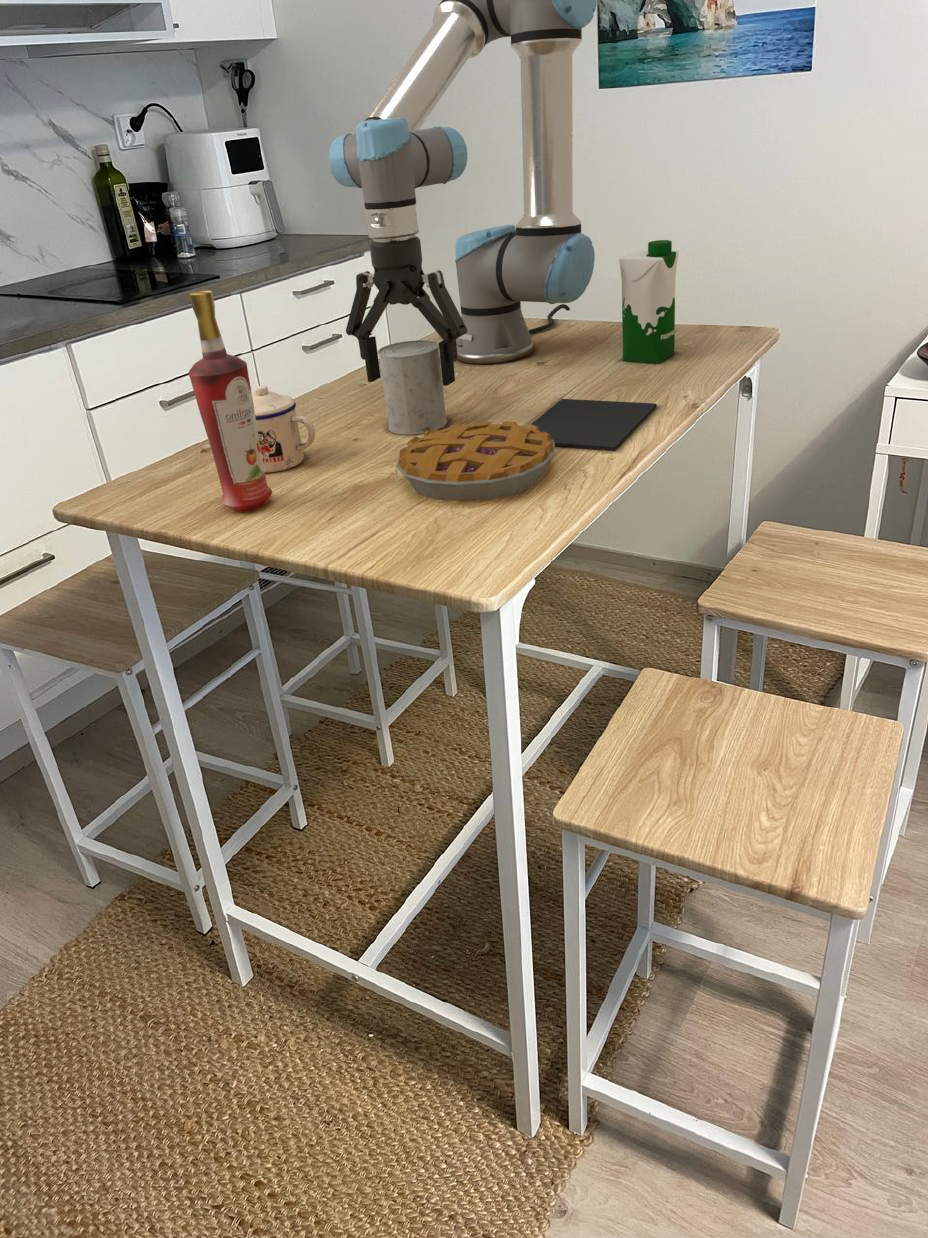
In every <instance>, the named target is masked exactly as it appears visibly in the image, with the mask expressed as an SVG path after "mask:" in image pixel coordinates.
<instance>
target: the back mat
mask: <svg viewBox="0 0 928 1238" xmlns="http://www.w3.org/2000/svg"><path fill="white" fill-rule="evenodd" d="M657 405H658V403H656V402H655V403H652V402H637V401H636V402H634V401H633V402H631V401H613V400H597V399H596V400H594V399H575V398H574V399H573V398H561V399H559V400H558V401H557V402H556V403H555V404H554V405H552V406H551V407H549V408H548V409H547V410H546V411H545V412H544V413H543V414H541V415H540V416H539V417H538V418H536V419H535V420H534V421H533V422H532V423H529V424H530V425H534V426H538V427H539V430H540V432H547V433H548V434H550V437H551V439H552V440H553V441H554V442H555V448H569V449H582V450H583V449H584V450H596V451H610V452H615V451H617V450H618V448H620V446H621V445H622V444H623V443H625V441H626V440H627V439H628V438H629V437H630V436H631V435H632V434H633V433H634V432H635V431H636V430H637V428H638V427H639V426H640V425H641V424H642V423H644V421H645V420H646V419H647V418H648V417H649V416H650V415H651V414H652V413H653V412H654V411H655V409H657V407H658V406H657Z"/></svg>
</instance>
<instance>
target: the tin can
mask: <svg viewBox="0 0 928 1238" xmlns="http://www.w3.org/2000/svg"><path fill="white" fill-rule="evenodd" d="M377 353H378V360H379V368H380V375H381V381H382V388H383V395H384V396H383V397H384V402H385V403H384V404H385V409H386V410H385V411H386V418H387V425H388V426H387V428H388V431H390V432H391V433H393V434H396V435H403V436H413V435H414V436H415V435H422V434H425V431H429V430H441V429H442V428H444V427H445V426H446V425H447V424H448V419H447V414H446V412H447V411H446V404H445V403H446V402H445V394H444V386H443V382H442V372H441V362H440V352H439V342H436V341H433V340H424V339H423V340H422V339H421V340H418V339H416V340H406V341H400V342H395V343H390V344H387V345H384V346H382V347H380V348H379V349H377Z"/></svg>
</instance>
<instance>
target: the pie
mask: <svg viewBox="0 0 928 1238" xmlns="http://www.w3.org/2000/svg"><path fill="white" fill-rule="evenodd" d="M530 424H531V423H529V424H526V425H518V423H517V422H516V421H510V420H509V421H508V420H506V421H504V422H502V423H492V422H490V421H478V422H477V423H475V424H468V425H464V424H463V423H456V424H451V425H449V427H448V428H445V429H438V430H429V431H425V433H424V436H422V437H418V436H414V437H412V438H410V439H409V440H408V441H407V447H402V448H401V449H400V450H399V455H398V459H397V462H396V465H395V467H396V468H397V470H398V471H399V472H400V473H401V474H402V475H403V476H404V478H406V479H407V481H408V482H409V483H410V486H411V487H412V488H413V489H414V491H415V492H416V493H417V494H418V495H419V496H424V497H428V498H431V499H435V500H445V501H455V502H469V501H470V502H471V501H486V500H494V499H499V498H504V497H508V496H513V495H517V494H520V493H522V492H524V491H526V490H527V489H529V488H531V487H534V486H535V485H536V483H537V482H538V481H539V480H540V479H541V478H542V477H543V476H544V473H545V472H546V470H547V467H548V466H549V463H550V460H551V459H552V458H553V457H554V456H555V455H556V447H555V442H554V441H553V440H552V439H551V437H550V434H548V433H547V432H540V430H539V427H538V426H534V425H530Z"/></svg>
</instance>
